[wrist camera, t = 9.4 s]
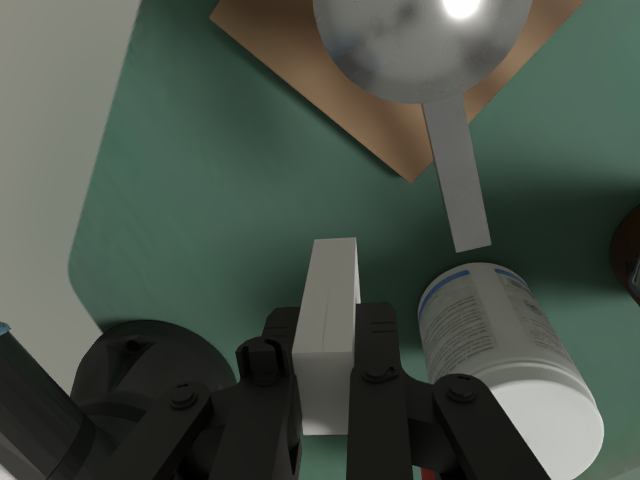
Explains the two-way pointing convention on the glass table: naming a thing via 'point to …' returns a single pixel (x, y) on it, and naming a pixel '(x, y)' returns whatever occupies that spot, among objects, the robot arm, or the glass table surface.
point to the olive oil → (628, 254)
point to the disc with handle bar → (429, 77)
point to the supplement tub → (512, 361)
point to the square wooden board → (349, 99)
